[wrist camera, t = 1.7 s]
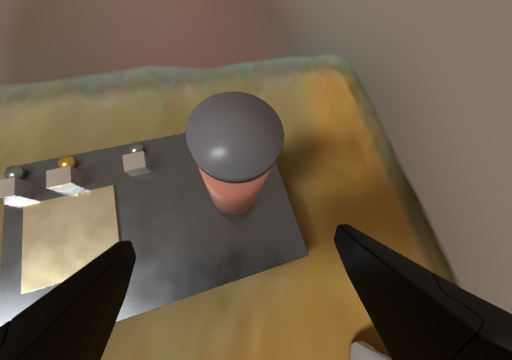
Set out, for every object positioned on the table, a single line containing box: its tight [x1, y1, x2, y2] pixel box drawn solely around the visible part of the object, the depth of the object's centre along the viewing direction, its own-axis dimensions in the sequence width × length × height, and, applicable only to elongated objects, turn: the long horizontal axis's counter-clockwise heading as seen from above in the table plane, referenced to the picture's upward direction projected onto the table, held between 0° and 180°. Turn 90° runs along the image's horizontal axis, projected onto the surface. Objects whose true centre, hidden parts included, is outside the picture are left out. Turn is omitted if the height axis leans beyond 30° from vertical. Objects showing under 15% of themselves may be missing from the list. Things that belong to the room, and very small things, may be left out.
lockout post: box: [186, 92, 284, 215], centre depth 15 cm, size 4×4×11 cm
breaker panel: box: [0, 133, 309, 327], centre depth 19 cm, size 15×24×3 cm, turn 107°
